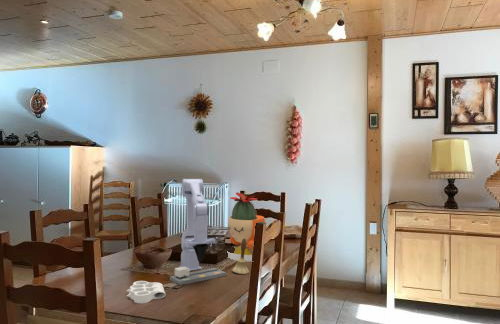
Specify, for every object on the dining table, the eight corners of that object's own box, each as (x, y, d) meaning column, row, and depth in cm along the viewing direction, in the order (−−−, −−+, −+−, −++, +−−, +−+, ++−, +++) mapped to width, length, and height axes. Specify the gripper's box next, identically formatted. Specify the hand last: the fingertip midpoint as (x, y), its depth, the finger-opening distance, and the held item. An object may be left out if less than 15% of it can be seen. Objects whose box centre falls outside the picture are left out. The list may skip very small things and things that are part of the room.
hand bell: (252, 273, 196) (256, 240, 196) (238, 274, 192) (241, 241, 191) (243, 267, 203) (246, 236, 203) (228, 269, 199) (232, 236, 198)
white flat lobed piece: (166, 301, 158) (126, 305, 153) (161, 287, 175) (125, 289, 170) (166, 293, 157) (126, 296, 153) (161, 279, 175) (125, 281, 170)
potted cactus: (243, 263, 213) (244, 196, 212) (218, 254, 230) (219, 192, 229) (273, 257, 227) (275, 194, 226) (248, 249, 244) (249, 190, 243)
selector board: (170, 279, 183) (170, 275, 183) (215, 271, 198) (215, 266, 198) (179, 285, 176) (179, 280, 176) (225, 275, 191) (225, 271, 191)
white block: (174, 274, 183) (174, 268, 183) (184, 273, 186) (184, 266, 186) (182, 278, 178) (182, 271, 178) (192, 276, 181) (192, 270, 181)
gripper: (190, 233, 172) (190, 265, 173) (219, 230, 181) (219, 260, 182) (182, 231, 178) (182, 262, 178) (210, 227, 187) (210, 257, 187)
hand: (200, 261), depth 180 cm, fingers closed
